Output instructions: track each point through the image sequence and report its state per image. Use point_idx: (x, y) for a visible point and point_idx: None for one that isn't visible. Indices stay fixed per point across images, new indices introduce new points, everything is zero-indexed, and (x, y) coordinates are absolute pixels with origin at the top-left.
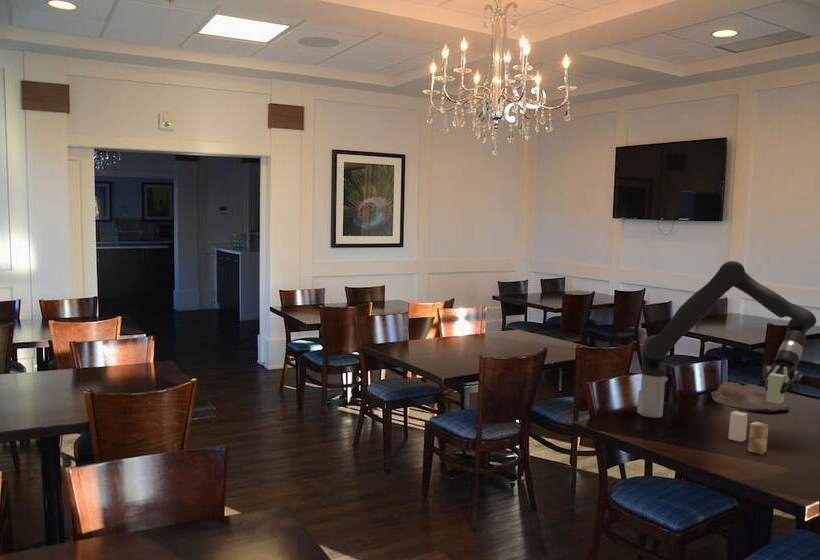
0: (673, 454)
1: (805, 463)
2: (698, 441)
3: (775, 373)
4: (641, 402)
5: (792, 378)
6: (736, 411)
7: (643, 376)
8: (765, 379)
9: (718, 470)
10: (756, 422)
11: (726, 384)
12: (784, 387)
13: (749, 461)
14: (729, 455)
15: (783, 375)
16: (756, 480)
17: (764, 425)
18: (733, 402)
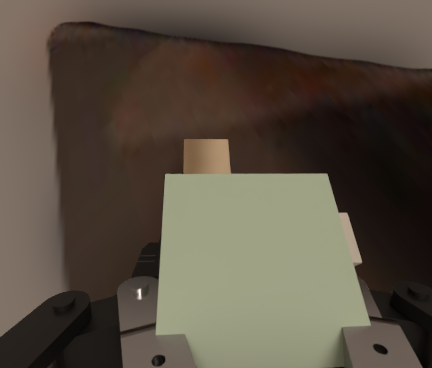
0: (294, 65)
1: (80, 209)
2: (328, 161)
3: (333, 347)
4: None
5: (44, 343)
6: (354, 257)
7: None
8: (376, 301)
9: (203, 53)
10: (222, 168)
11: None
12: (150, 261)
13: (186, 124)
14: (231, 128)
15: (180, 301)
16: (140, 55)
17: (189, 155)
18: None
